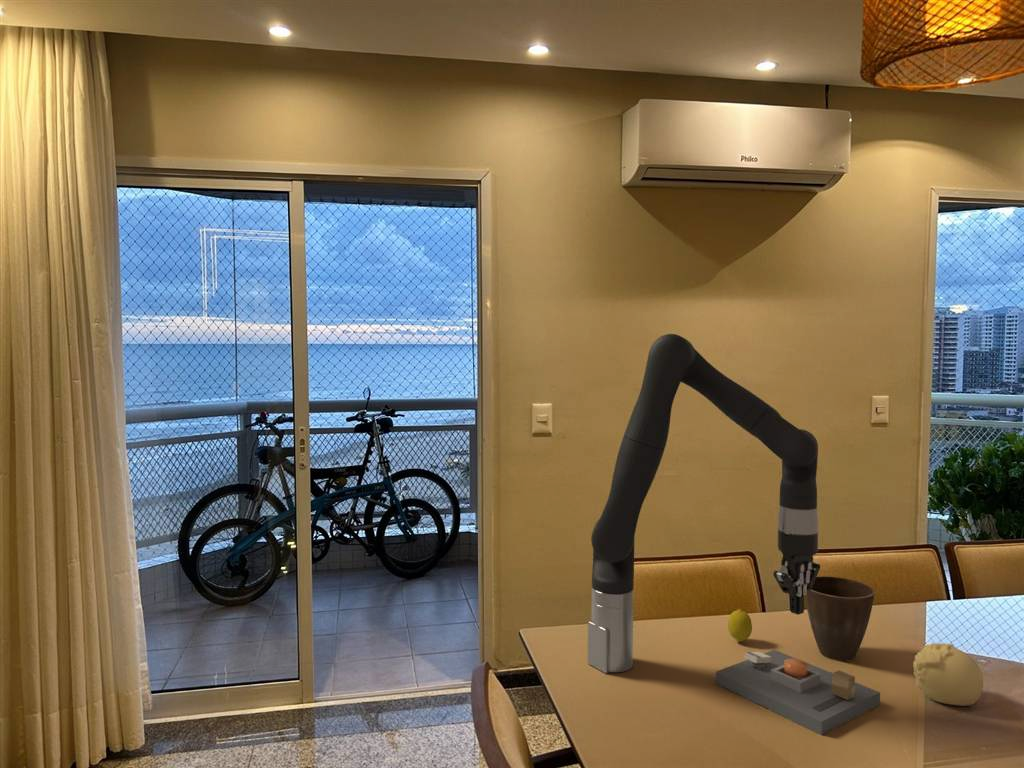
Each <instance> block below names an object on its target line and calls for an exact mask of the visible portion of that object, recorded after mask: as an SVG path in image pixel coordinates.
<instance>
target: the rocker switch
mask: <svg viewBox="0 0 1024 768" xmlns="http://www.w3.org/2000/svg"><path fill="white" fill-rule="evenodd" d="M744 659H745V660H750V661H752V662H754V663H771V657H770V656H768V655H766V654H764V653H763V652H761V651H752V652H751V651H746V652H745V653H744Z"/></svg>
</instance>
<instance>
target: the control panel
mask: <svg viewBox="0 0 1024 768" xmlns="http://www.w3.org/2000/svg"><path fill="white" fill-rule="evenodd" d="M763 654H766V655H768V656H770V657H771V663H754V662H752V661H750V660H747V659H745V660H743V661H741V662H738V663H735V664H732V665H730V666H727V667H724V668H722V669H720V670H719V669H718V670H716V671H715V684H716V685H718V686H720V685H721V686H720V687H722V686H723V687H722V688H724V687H725V689H726V688H727V689H726V690H728V689H729V691H730V690H731V691H730V692H732V691H733V692H732V693H735V694H736V693H737V694H736V695H738V694H739V696H740V695H741V696H740V697H742V698H745V699H747V700H749V701H750V702H753V703H754V704H757V705H759V704H760V705H759V706H761V705H762V706H761V707H763V706H764V707H763V708H765V707H766V708H765V709H767V708H768V710H769V709H770V710H769V711H771V712H773V711H774V712H773V713H775V714H777V713H778V716H779V715H780V716H781V717H784V718H785V719H787V720H789V721H791V722H794V723H796V724H798V725H799V726H802V727H804V728H806V729H808V730H810V731H812V732H814V733H816V732H817V734H818V735H820V734H821V735H822V736H823V735H824V734H826V733H828V732H830V731H832V730H834V729H836V728H837V726H838V727H840V726H841V724H842V725H844V724H845V723H844V722H846V721H848V720H849V721H851V720H853V719H855V718H857V717H859V716H861V715H863V714H865V713H867V712H868V711H871V710H873V709H874V708H877V707H879V706H880V705H881V692H880V691H878V690H875V689H873V688H871V687H868V686H866V685H863V684H861V683H858V682H856V681H855V692H854V697H853V698H851V699H849V700H846V699H844V698H841V697H839V696H837V695H834V694H832V673H833V672H831V671H828V670H826V669H823V668H821V667H819V666H816V665H813V664H811V663H809V662H806V661H804V662H805V663H807V676H806V677H804V678H795V677H791V676H789V675H787V674H785V673H784V661H785V660H786V659H798V658H796V657H794V656H791V655H790V654H789V655H788V654H786V653H784V652H780V651H779V650H776V649H773V650H770V651H767V652H765V653H763ZM798 660H800V659H798ZM878 705H879V706H878ZM876 706H877V707H876ZM870 709H871V710H870ZM866 711H867V712H866ZM864 712H865V713H864ZM862 713H863V714H862ZM860 714H861V715H860ZM858 715H859V716H858ZM850 719H851V720H850ZM849 721H848V722H849ZM843 723H844V724H843ZM846 723H847V722H846ZM839 725H840V726H839ZM835 727H836V728H835ZM833 728H834V729H833ZM831 729H832V730H831ZM829 730H830V731H829ZM821 735H820V736H821Z"/></svg>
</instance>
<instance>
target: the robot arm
mask: <svg viewBox="0 0 1024 768" xmlns="http://www.w3.org/2000/svg"><path fill="white" fill-rule="evenodd" d="M643 375H644V376H643V380H642V384H641V388H640V391H639V394H638V397H637V400H636V402H635V404H634V407H633V410H632V411H631V414H630V418H629V421H628V424H627V426H626V429H625V431H624V433H623V437H622V441H621V442H620V446H619V449H618V453H617V457H616V460H615V464H614V468H613V469H614V471H613V473H612V480H611V485H610V492H609V494H608V498H607V500H606V504H605V506H604V509H603V511H602V513H601V515H600V518H599V519H598V520H597V521H596V522H595V524H594V527H593V530H592V532H591V535H590V536H591V540H590V541H591V546H592V570H591V571H592V572H591V620H590V621H588V622H587V664H589V665H590V666H592V667H594V668H595V669H597V670H599V671H601V672H603V674H609V673H622V672H626V671H629V670H631V668H633V666H634V665H633V662H634V661H633V660H634V659H633V656H634V654H633V653H634V651H633V650H634V584H635V583H634V581H635V534H636V529H637V526H638V521H639V517H640V514H641V513H640V512H641V510H642V507H643V503H644V501H645V499H646V498H647V495H648V493H649V491H650V489H651V486H652V485H653V482H654V480H655V477H656V475H657V472H658V469H659V467H660V465H661V461H662V458H663V456H664V452H665V449H666V445H667V442H668V437H669V432H670V424H671V417H672V416H671V415H672V408H673V404H674V400H675V397H676V395H677V392H678V389H679V387H680V384H681V383H682V384H684V385H686V386H688V387H690V388H691V389H693V390H695V391H696V392H698V393H700V395H702V396H703V397H705V398H706V399H707V400H708V401H710V402H711V403H712V405H714V406H715V407H716V408H717V409H718V410H720V411H721V413H723V414H724V415H725V416H726V417H728V418H729V420H731V421H733V422H734V423H735V424H736V425H738V426H739V427H740V428H741V429H743V430H745V431H746V432H747V433H749V434H750V435H751V436H753V437H755V438H756V439H758V440H759V441H760V442H761V443H762V444H763V445H764V446H766V447H767V448H768V450H769V451H771V452H772V453H773V454H774V455H775V456H777V457H778V458H779V459H780V460H781V471H782V472H781V474H782V475H781V478H780V484H779V508H778V516H777V549H778V551H780V553H781V554H782V558H781V562H780V564H781V567H780V569H779V570H774V571H773V578H774V579H775V580H776V582H777V584H778V585H779V588H780V590H781V591H782V593H785V594H788V595H789V611H790V613H792V614H795V615H801V614H804V613H805V595H806V593H807V590H809V591H810V590H811V589H812V586H813V584H814V582H815V579H816V577H818V574H819V572H820V569H821V564H819V563H816V562H814V556H815V555H817V553H818V551H819V516H818V488H817V487H818V486H817V472H818V471H817V470H818V469H817V468H818V457H819V444H818V440H817V439H816V437H815V435H813V434H812V433H811V431H808V430H806V429H800V428H799V427H796V426H795V425H793V424H792V423H791V422H789V421H788V420H786V419H785V418H784V417H782V415H781V413H780V412H778V411H777V410H776V409H775V408H774V407H773V406H771V405H770V404H769V403H767V402H765V401H764V400H763V399H761V398H760V397H758V396H757V395H756V394H754V393H753V392H751V391H750V390H748V389H747V388H745V387H743V386H742V385H740V384H738V382H736V381H734V380H733V379H731V378H729V377H728V376H726V375H725V374H723V373H722V372H721V371H719V370H718V369H717V368H716V367H714V366H713V365H712V364H711V363H710V362H708V361H707V360H706V358H704V356H703V355H702V354H701V353H700V352H699V351H698V350H697V349H695V347H694V346H693V344H692V343H691V341H689V340H688V339H686V338H685V337H682V336H681V335H679V334H675V333H667V334H663V335H660V336H659V337H658V338H657V339H656V340H655V341H654V342H653V343H652V345H651V346H650V349H649V351H648V354H647V361H646V364H645V371H644V374H643Z"/></svg>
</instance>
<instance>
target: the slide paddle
mask: <svg viewBox="0 0 1024 768" xmlns="http://www.w3.org/2000/svg"><path fill="white" fill-rule="evenodd" d="M831 673H832V694H834V695H837V696H839V697H841V698H844V699H846V700H849V699H851V698H853V697H854V692H855V682H856V678H855V677H856V676H855V675H852V674H850V673H848V672H845V671H842V670H841V669H840V670H837V671H834V672H831Z"/></svg>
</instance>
